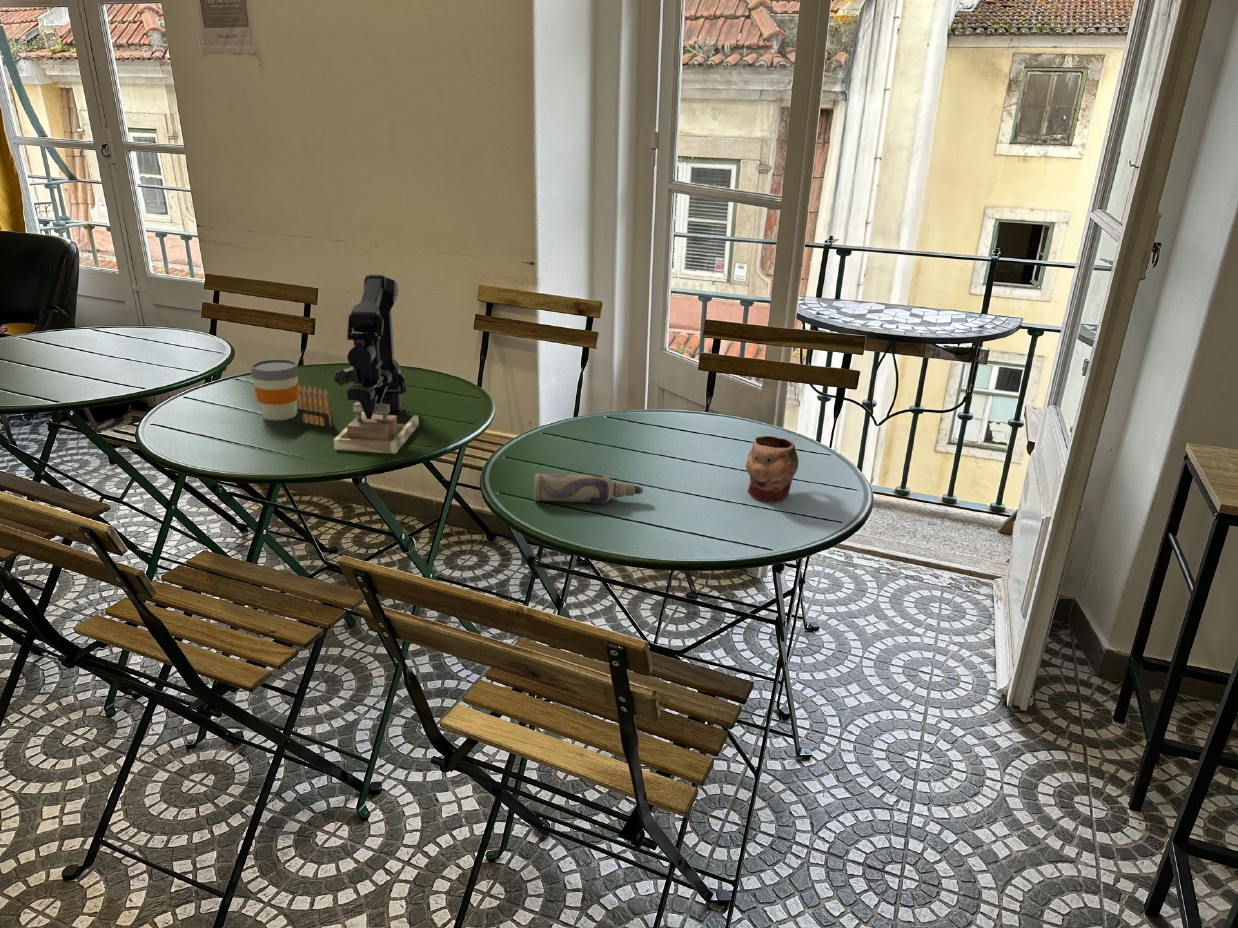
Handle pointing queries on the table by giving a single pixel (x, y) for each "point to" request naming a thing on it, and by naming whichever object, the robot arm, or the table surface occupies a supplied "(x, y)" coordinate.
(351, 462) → the table surface
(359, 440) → the bay
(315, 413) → the ammunition clip
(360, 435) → the panel with bar handle
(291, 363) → the reusable coffee cup
